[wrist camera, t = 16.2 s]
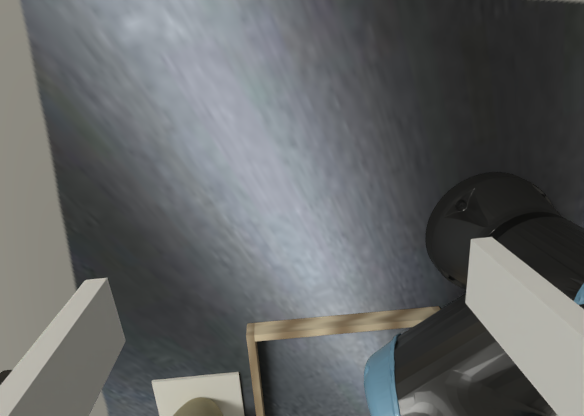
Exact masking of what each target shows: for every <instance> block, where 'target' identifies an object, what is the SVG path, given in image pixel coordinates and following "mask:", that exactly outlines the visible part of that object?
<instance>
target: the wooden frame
mask: <svg viewBox="0 0 584 416" xmlns="http://www.w3.org/2000/svg"><path fill="white" fill-rule="evenodd" d="M439 310H441V309H440V308H439V306H436V307H425V308H414V309H403V310H392V311H381V312H370V313H359V314H348V315H337V316H326V317H314V318H303V319H292V320H281V321H270V322H259V323H248V324H247V334H246V337H247V345H248V353H249V361H250V369H251V377H252V385H253V393H254V402H255V410H256V416H265V410H264V401H263V392H262V383H261V374H260V366H259V357H258V348H257V341H266V340H277V339H288V338H299V337H309V336H320V335H331V334H342V333H353V332H364V331H375V330H385V329H396V328H407V327H414V326H415V325H417V324H419V323H420V322H422V321H423V320H425V319H426V318H428V317H430V316H431V315H433V314H434V313H436V312H437V311H439Z"/></svg>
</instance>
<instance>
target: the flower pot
mask: <svg viewBox="0 0 584 416" xmlns="http://www.w3.org/2000/svg"><path fill="white" fill-rule="evenodd" d="M173 416H224V415H223V413H222V412H221V410H220V409H219V407H218V406H217V404H216V403H215V402H214V401H212V400H210V399H208V398H203V397H199V398H194V399H191V400H189V401H188V402H186V403H185V404H184V405H183V406H182V407H181V408H179V409H178V410H177V412H176V413H175V414H174V415H173Z"/></svg>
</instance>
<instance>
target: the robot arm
mask: <svg viewBox="0 0 584 416" xmlns="http://www.w3.org/2000/svg"><path fill="white" fill-rule="evenodd" d="M426 248H427V252H428V255H429V257H430V259H431V261H432V262H433V264H434V265H435V266H436V268H437V269H438V270H439V271H440V272H441V274H442V275H443V276H444V277H445V278H446V279H448V280H449V281H450V282H452V283H453V284H455V285H457V286H459V287H461V288H464V289H466V294H465V295H463V296H461V297H459V298H458V299H456V300H455V301H453V302H452V303H450V304H448V305H447V306H445V307H444V308H442V309H441V310H439V311H437V312H436V313H434V314H433V315H431V316H430V317H428V318H426V319H425V320H423V321H422V322H420V323H419V324H417V325H415V326H414V327H412V328H411V329H409V330H408V331H406V332H404V333H403V334H397V335H396V336H395V337H394V338H393V340H392V341H391V342H389V343H388V344H386V345H385V346H384V347H382V348H381V349H380V350H378V351H377V352H375V353H374V354H373V355H372V356H371V357H370V358H369V359H368V361H367V363H366V366H365V371H364V388H365V394H366V399H367V404H368V407H369V411H370V414H371V416H555V415H558V416H584V228H582V227H580V226H578V225H577V224H575V223H573V222H571V221H569V220H567V219H565V218H563V217H562V216H561V215H560V214H559V213H558V212H557V211H556V210H555V209H554V208H553V206H552V204H551V202H550V200H549V199H548V197H547V196H546V195H545V193H544V192H543V191H542V190H541V189H539V188H538V187H537V186H535V185H534V184H532V183H531V182H529V181H527V180H524V179H522V178H520V177H518V176H515V175H513V174H509V173H502V172H490V173H484V174H480V175H476V176H473V177H471V178H468V179H466V180H464V181H462V182H461V183H459V184H458V185H456V186H455V187H453V188H452V189H451V190H450V191H448V192H447V193H446V194H445V195H444V196H443V197H442V199H441V200H440V201H439V202H438V204H437V205H436V207H435V208H434V210H433V212H432V214H431V216H430V218H429V221H428V224H427V229H426ZM124 343H125V337H124V334H123V330H122V327H121V323H120V320H119V317H118V313H117V310H116V306H115V303H114V300H113V296H112V293H111V289H110V286H109V282H108V279H107V278H101V279H91V280H85V281H84V282H83V284H82V285H81V286H80V287H79V289H78V290H77V291H76V292H75V293H74V295H73V296H72V297H71V298H70V300H69V301H68V302H67V304H66V305H65V306H64V307H63V308H62V310H61V311H60V312H59V313H58V315H57V316H56V317H55V318H54V320H53V321H52V322H51V323H50V325H49V326H48V327H47V328H46V329H45V331H44V332H43V333H42V334H41V336H40V337H39V338H38V339H37V341H36V342H35V343H34V344H33V346H32V347H31V348H30V349H29V350H28V352H27V353H26V354H25V356H24V357H23V358H22V359H21V361H20V362H19V363H18V364H17V365H16V367H15V368H14V369H13V370H6V371H3V372H1V373H0V416H89V414H90V412H91V410H92V408H93V406H94V404H95V402H96V400H97V398H98V396H99V394H100V392H101V390H102V388H103V386H104V384H105V382H106V380H107V378H108V376H109V374H110V371H111V369H112V367H113V365H114V363H115V361H116V359H117V357H118V355H119V353H120V351H121V349H122V347H123V345H124Z"/></svg>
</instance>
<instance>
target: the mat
mask: <svg viewBox="0 0 584 416" xmlns="http://www.w3.org/2000/svg"><path fill="white" fill-rule="evenodd" d="M152 386H153V390H154V394H155V399H156V403H157V407H158V411H159V415H160V416H173V415H174V414H175V413H176V412H177V410H178V409H179V408H181V407H182V406H183V405H184V404H185V403H186V402H188V401H189V400H191V399H194V398H199V397H203V398H208V399H210V400H212V401H214V402H215V403H216V404H217V406H218V407H219V409H220V410H221V412H222V413H223V415H224V416H245V414H244V407H243V400H242V393H241V385H240V378H239V372H233V373H223V374H212V375H202V376H191V377H181V378H170V379H159V380H152Z"/></svg>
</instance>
